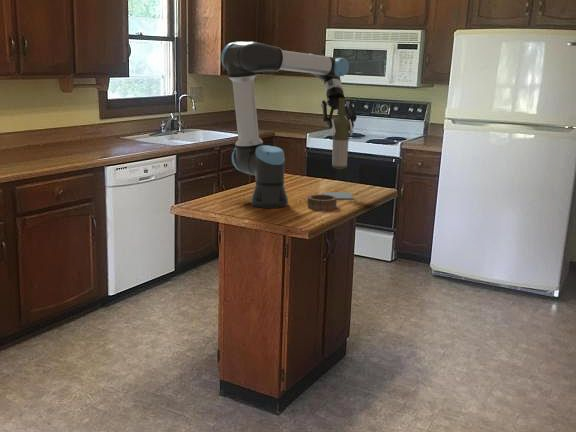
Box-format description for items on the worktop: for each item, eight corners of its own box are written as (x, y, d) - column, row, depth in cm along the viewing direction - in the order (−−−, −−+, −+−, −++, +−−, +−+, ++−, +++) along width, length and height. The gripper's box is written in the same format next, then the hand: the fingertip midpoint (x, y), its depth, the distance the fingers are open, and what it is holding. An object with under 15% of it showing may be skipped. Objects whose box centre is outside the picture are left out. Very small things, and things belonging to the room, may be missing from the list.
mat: (326, 199, 275) (326, 198, 274) (322, 193, 286) (322, 192, 286) (354, 199, 276) (354, 198, 275) (349, 193, 287) (349, 192, 287)
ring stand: (309, 210, 255) (309, 200, 254) (306, 203, 266) (306, 194, 265) (337, 210, 256) (338, 200, 255) (333, 203, 267) (333, 194, 266)
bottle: (350, 169, 276) (353, 98, 268) (335, 169, 274) (337, 98, 266) (343, 166, 282) (346, 97, 275) (328, 167, 280) (331, 97, 273)
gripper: (354, 97, 287) (363, 138, 276) (310, 97, 284) (318, 139, 272) (358, 86, 281) (367, 127, 269) (314, 85, 277) (321, 127, 266)
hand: (343, 133), depth 271 cm, fingers closed on bottle, 7 cm apart
